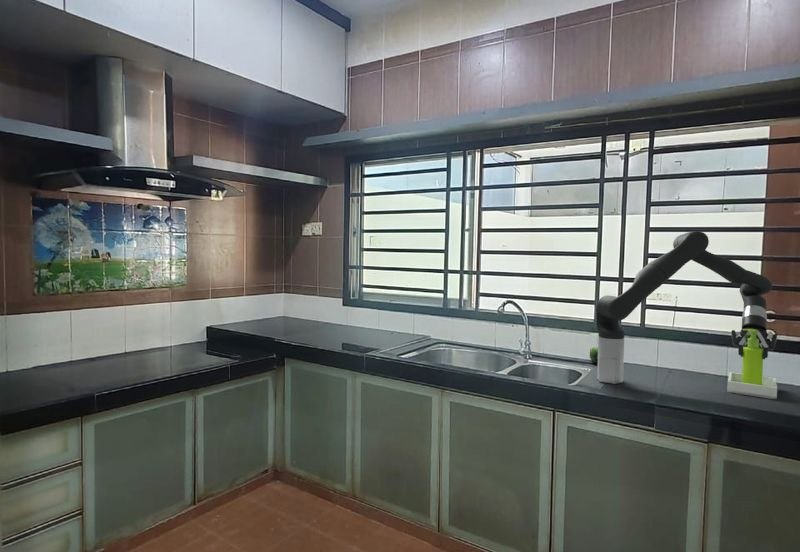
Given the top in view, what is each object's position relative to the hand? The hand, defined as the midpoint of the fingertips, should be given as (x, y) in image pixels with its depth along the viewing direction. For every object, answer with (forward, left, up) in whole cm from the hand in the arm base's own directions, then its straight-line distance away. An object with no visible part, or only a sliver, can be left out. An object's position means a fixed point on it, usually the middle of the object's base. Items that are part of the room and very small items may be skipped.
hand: (752, 356), depth 171 cm
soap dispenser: (+2, 0, -10) cm, 11 cm away
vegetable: (+16, +57, -13) cm, 61 cm away
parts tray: (+2, 0, -13) cm, 13 cm away
